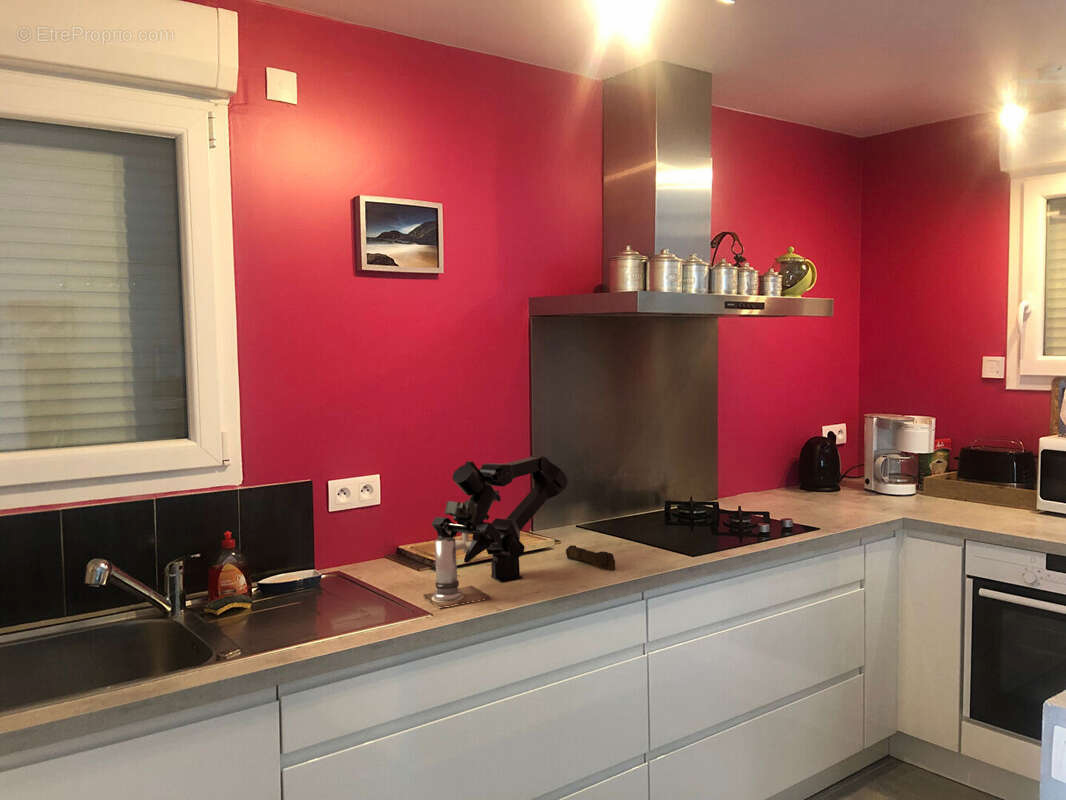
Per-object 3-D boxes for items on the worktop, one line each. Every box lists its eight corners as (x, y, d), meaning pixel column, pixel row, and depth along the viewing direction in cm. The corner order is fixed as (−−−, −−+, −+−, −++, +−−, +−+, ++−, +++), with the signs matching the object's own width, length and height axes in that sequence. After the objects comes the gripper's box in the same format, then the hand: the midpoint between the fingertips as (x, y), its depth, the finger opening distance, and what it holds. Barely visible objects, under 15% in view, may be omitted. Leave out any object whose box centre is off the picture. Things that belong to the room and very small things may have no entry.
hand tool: (565, 560, 242) (564, 543, 241) (576, 557, 244) (576, 541, 243) (606, 574, 226) (605, 556, 225) (618, 571, 228) (617, 553, 228)
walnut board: (471, 588, 217) (471, 585, 217) (490, 599, 207) (490, 595, 207) (423, 597, 211) (423, 594, 211) (439, 609, 201) (439, 605, 201)
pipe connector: (466, 555, 251) (464, 521, 250) (491, 560, 244) (489, 525, 244) (441, 563, 243) (439, 528, 242) (467, 568, 237) (465, 532, 236)
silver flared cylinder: (445, 591, 212) (442, 535, 211) (467, 594, 208) (464, 538, 207) (427, 599, 206) (424, 541, 205) (450, 602, 203) (447, 544, 202)
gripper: (434, 485, 217) (405, 537, 209) (490, 490, 205) (462, 546, 198) (457, 509, 224) (430, 561, 216) (513, 516, 212) (486, 571, 204)
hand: (451, 559), depth 208 cm, fingers open, 9 cm apart
